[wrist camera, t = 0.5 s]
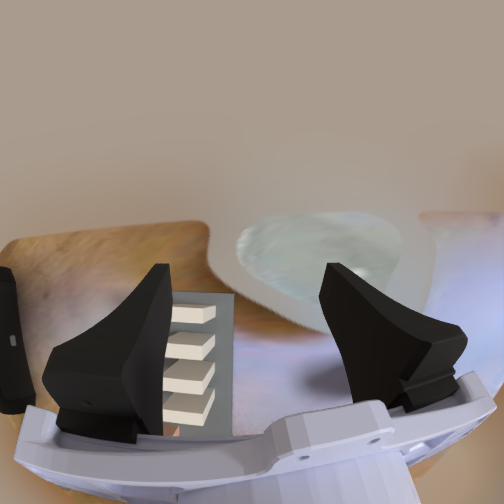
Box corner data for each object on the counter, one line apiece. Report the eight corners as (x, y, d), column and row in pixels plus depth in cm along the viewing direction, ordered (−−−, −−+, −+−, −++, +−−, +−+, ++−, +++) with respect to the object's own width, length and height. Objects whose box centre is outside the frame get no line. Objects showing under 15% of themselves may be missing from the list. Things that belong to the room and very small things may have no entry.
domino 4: (214, 372, 38) (202, 394, 28) (180, 369, 38) (158, 389, 29) (214, 361, 39) (202, 381, 29) (180, 358, 39) (158, 376, 29)
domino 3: (214, 345, 39) (202, 360, 29) (180, 342, 39) (157, 356, 29) (215, 333, 39) (202, 345, 29) (180, 331, 39) (157, 342, 29)
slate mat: (232, 449, 37) (231, 450, 36) (145, 438, 37) (144, 439, 37) (234, 293, 40) (234, 293, 40) (140, 289, 41) (138, 289, 40)
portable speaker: (49, 404, 38) (16, 419, 28) (18, 400, 37) (-13, 411, 28) (24, 269, 41) (-12, 262, 32) (-4, 276, 41) (-38, 271, 31)
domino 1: (179, 434, 37) (161, 466, 27) (148, 429, 37) (124, 457, 27) (178, 425, 37) (159, 456, 27) (148, 420, 37) (122, 448, 27)
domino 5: (214, 397, 38) (202, 426, 28) (180, 394, 38) (160, 420, 28) (214, 387, 38) (202, 413, 28) (180, 384, 38) (159, 408, 28)
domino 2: (215, 316, 40) (202, 323, 30) (180, 315, 40) (157, 320, 30) (215, 305, 40) (202, 308, 30) (180, 303, 40) (157, 305, 30)
